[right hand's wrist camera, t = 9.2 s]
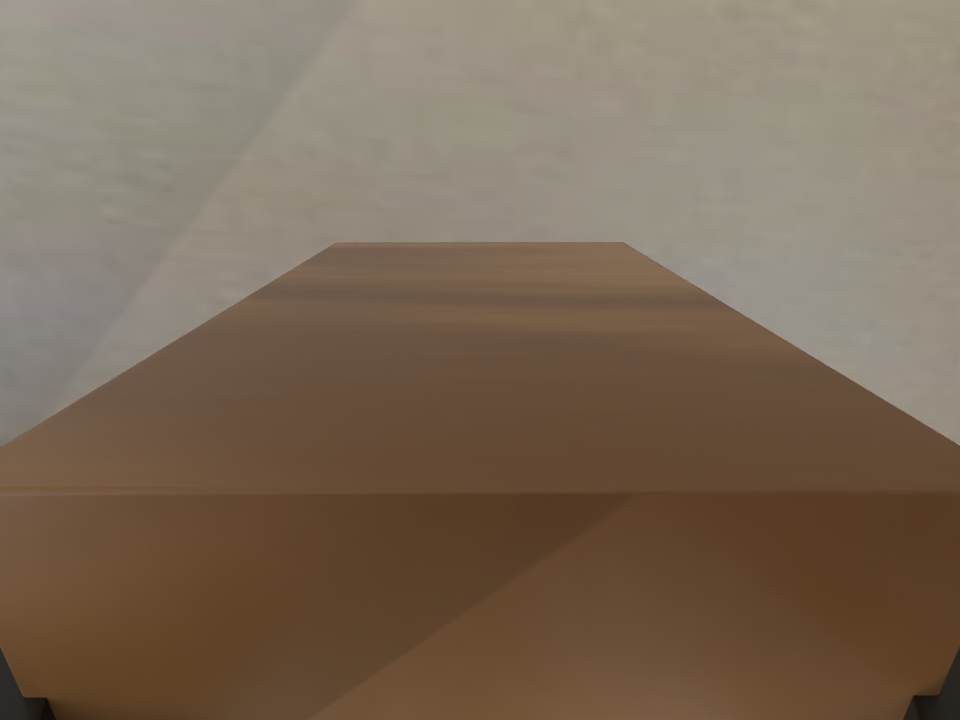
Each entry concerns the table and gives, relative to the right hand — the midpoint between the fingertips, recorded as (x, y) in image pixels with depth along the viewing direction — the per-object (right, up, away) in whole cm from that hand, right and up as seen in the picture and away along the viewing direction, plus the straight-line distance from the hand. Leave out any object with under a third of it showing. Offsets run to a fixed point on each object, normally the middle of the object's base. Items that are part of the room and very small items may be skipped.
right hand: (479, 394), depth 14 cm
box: (0, -9, +7) cm, 12 cm away
